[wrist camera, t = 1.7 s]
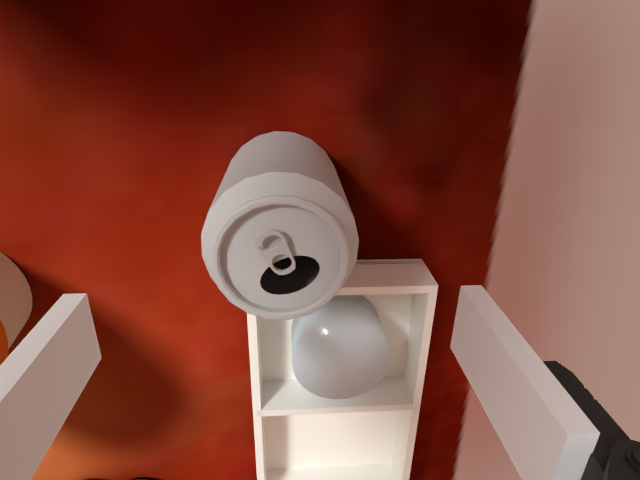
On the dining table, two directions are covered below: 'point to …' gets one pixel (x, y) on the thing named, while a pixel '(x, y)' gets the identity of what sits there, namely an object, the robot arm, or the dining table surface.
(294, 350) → the white dome
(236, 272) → the can
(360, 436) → the caddy
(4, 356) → the reusable coffee cup
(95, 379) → the dining table surface
